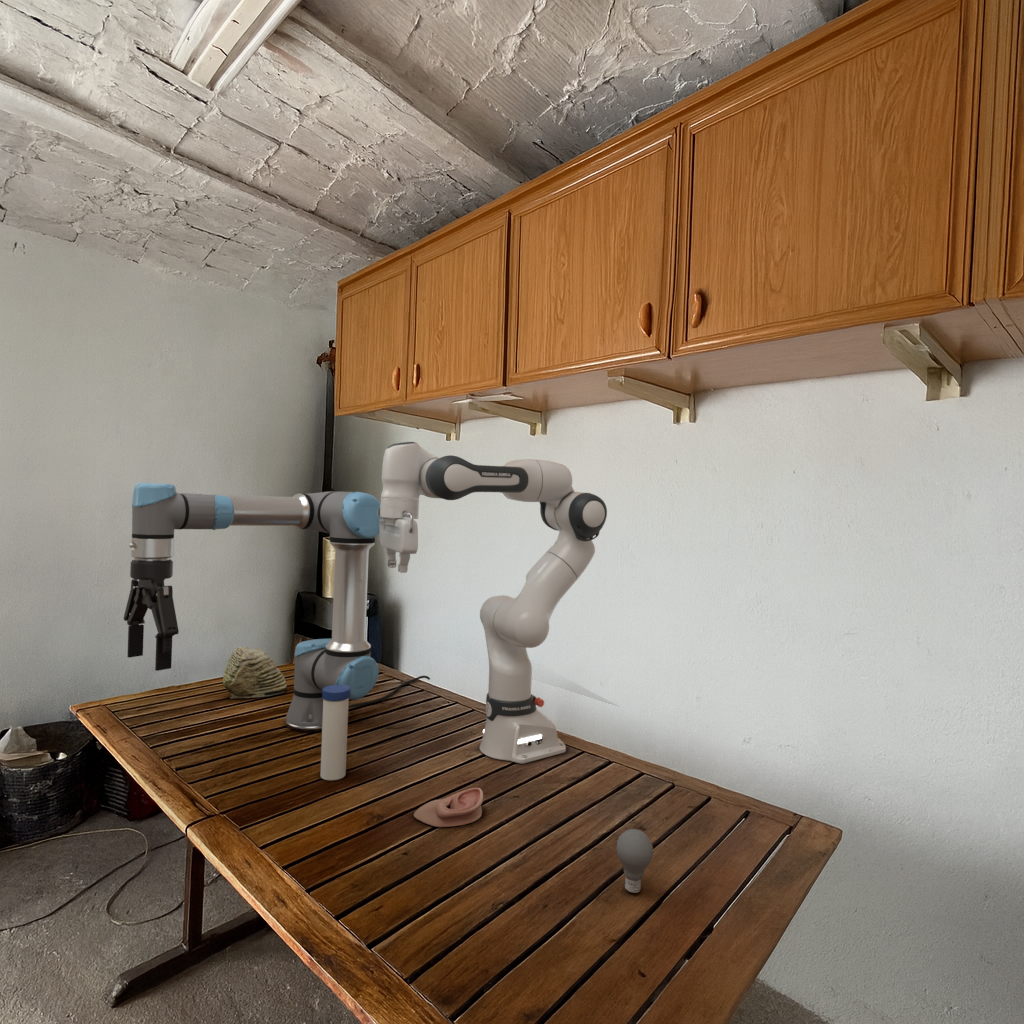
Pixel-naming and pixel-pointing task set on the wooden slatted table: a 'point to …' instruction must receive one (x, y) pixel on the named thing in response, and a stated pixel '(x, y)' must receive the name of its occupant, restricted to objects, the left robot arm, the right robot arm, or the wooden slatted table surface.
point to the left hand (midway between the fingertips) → (148, 662)
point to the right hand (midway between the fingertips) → (397, 569)
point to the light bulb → (634, 857)
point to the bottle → (334, 739)
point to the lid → (336, 692)
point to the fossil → (252, 674)
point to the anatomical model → (452, 809)
